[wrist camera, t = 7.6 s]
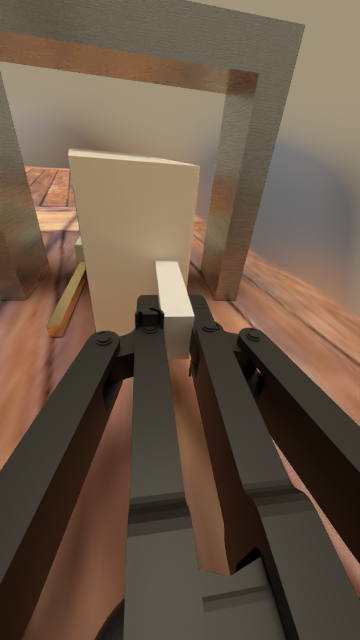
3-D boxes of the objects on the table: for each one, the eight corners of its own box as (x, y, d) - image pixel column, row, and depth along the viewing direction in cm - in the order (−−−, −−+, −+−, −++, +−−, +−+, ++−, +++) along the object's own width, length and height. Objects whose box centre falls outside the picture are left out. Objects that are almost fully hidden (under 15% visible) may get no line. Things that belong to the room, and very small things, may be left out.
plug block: (181, 338, 21) (200, 166, 14) (99, 353, 19) (67, 155, 11) (143, 269, 32) (142, 154, 25) (88, 273, 30) (69, 147, 23)
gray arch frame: (255, 332, 23) (379, -31, 11) (-38, 338, 19) (-369, -225, 7) (217, 271, 34) (256, 60, 22) (28, 267, 30) (-52, 7, 18)
